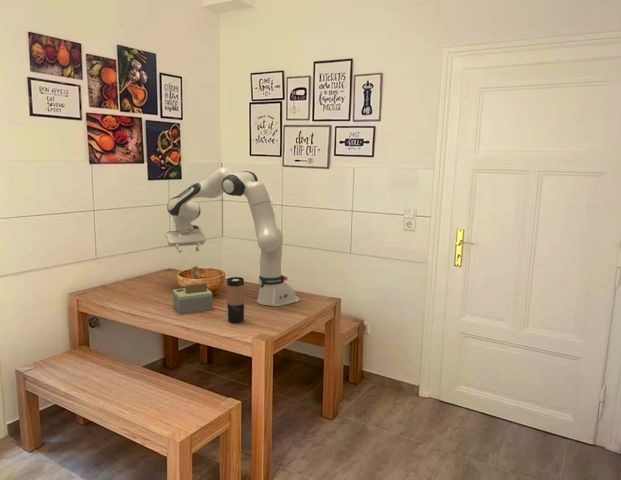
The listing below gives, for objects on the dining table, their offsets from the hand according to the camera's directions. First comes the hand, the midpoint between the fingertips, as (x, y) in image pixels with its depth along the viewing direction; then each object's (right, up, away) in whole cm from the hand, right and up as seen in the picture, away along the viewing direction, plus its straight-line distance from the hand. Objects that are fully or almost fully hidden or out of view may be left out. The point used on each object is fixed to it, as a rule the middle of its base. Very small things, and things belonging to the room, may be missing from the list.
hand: (189, 251), depth 255 cm
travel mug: (+32, -32, -37) cm, 58 cm away
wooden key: (+5, -25, -4) cm, 26 cm away
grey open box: (+8, -29, -23) cm, 37 cm away
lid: (+8, -21, -24) cm, 33 cm away
